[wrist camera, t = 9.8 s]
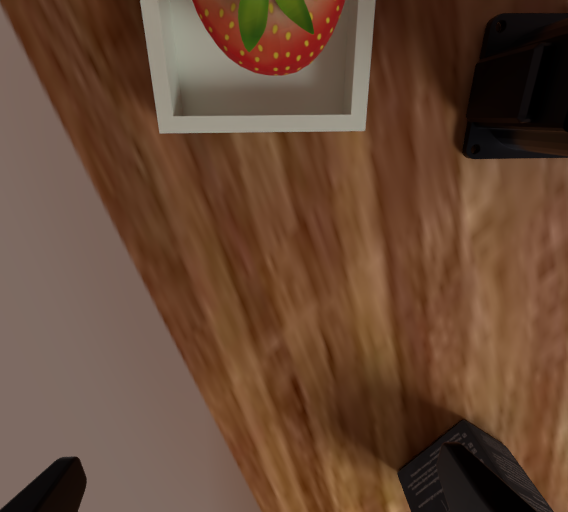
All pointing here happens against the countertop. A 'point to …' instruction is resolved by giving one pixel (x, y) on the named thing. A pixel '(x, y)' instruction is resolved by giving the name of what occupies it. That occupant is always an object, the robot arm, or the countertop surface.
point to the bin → (255, 77)
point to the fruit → (270, 31)
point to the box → (423, 469)
